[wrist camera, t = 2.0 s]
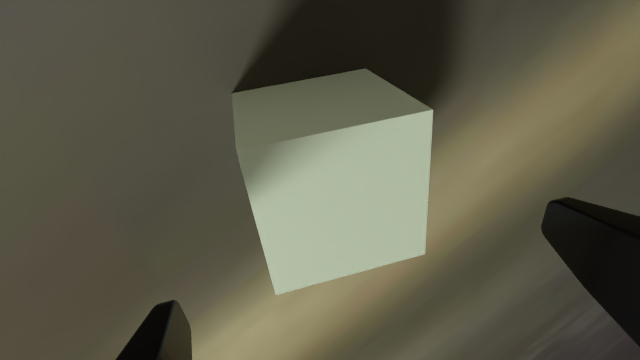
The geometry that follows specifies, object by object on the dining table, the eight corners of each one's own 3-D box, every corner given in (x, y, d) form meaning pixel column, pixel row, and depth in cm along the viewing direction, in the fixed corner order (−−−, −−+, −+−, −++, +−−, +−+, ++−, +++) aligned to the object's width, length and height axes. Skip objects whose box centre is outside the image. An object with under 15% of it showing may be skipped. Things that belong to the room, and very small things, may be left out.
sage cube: (364, 68, 13) (433, 109, 9) (370, 180, 16) (425, 254, 11) (231, 92, 12) (236, 150, 8) (260, 206, 15) (275, 294, 11)
